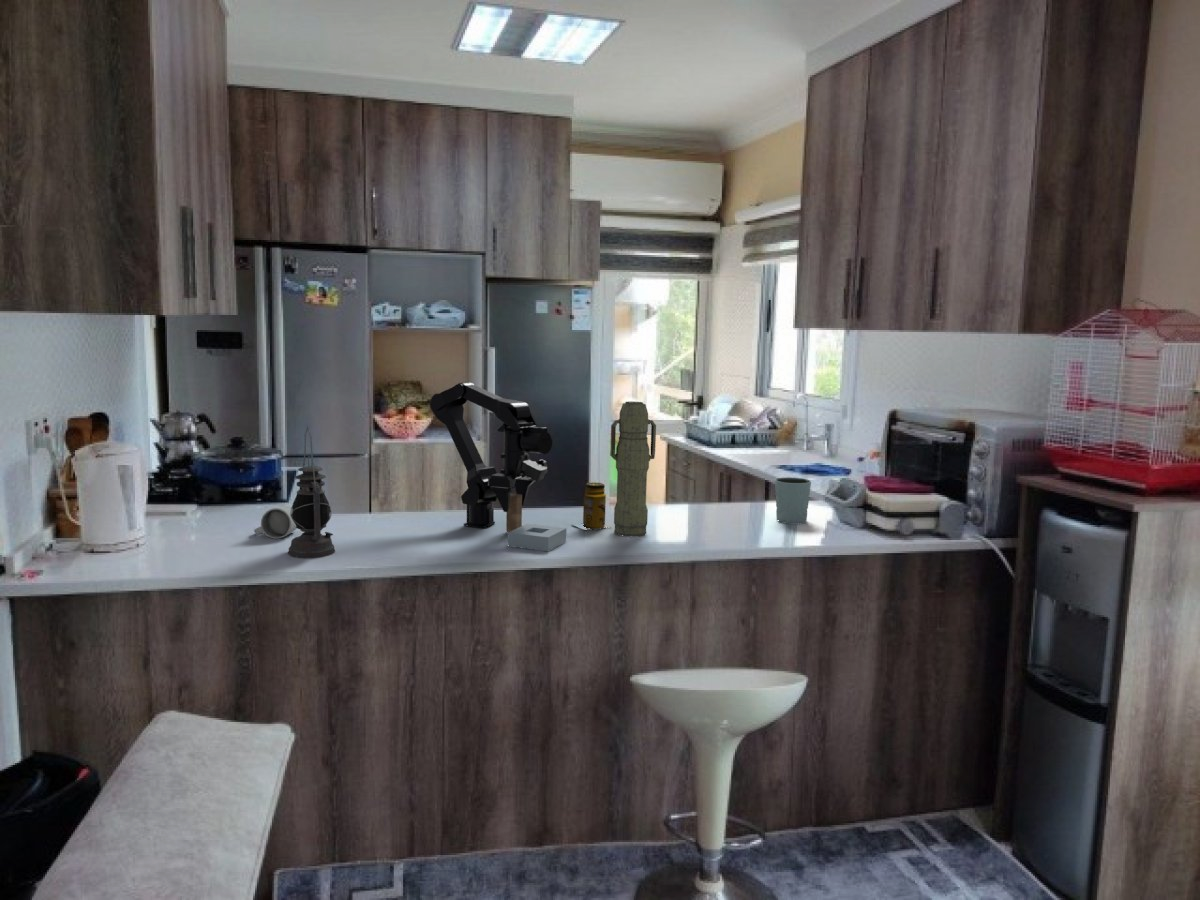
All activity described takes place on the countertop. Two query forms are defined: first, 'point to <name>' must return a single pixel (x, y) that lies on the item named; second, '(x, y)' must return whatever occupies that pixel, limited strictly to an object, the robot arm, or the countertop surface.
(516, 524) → the peg
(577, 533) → the countertop surface
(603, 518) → the condiment
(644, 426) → the thermos
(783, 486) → the grey cup
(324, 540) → the lantern
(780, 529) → the countertop surface
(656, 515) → the countertop surface
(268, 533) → the ceramic mug
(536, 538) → the holder
